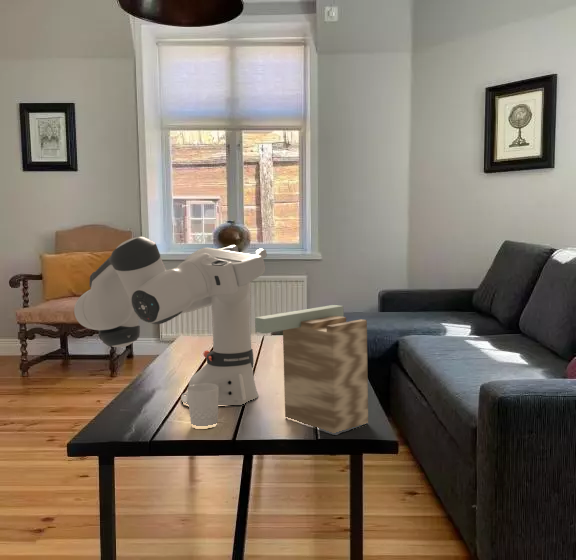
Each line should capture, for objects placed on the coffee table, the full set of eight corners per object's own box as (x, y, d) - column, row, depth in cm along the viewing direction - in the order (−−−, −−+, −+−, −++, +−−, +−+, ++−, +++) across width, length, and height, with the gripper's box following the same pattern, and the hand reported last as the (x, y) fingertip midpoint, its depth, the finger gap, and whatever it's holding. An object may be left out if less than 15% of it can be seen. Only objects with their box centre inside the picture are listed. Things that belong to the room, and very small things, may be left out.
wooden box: (334, 436, 148) (332, 326, 145) (285, 419, 161) (282, 318, 158) (368, 424, 155) (366, 320, 153) (318, 408, 169) (316, 312, 166)
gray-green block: (264, 333, 147) (264, 318, 146) (255, 331, 149) (255, 317, 149) (343, 319, 164) (343, 306, 164) (334, 317, 167) (334, 304, 167)
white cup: (221, 420, 162) (219, 382, 161) (218, 430, 154) (217, 391, 153) (190, 421, 162) (189, 383, 161) (187, 431, 154) (185, 392, 153)
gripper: (178, 281, 139) (223, 257, 148) (238, 295, 125) (284, 268, 134) (170, 255, 137) (216, 233, 145) (231, 266, 123) (278, 241, 131)
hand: (249, 250), depth 139 cm, fingers open, 8 cm apart
